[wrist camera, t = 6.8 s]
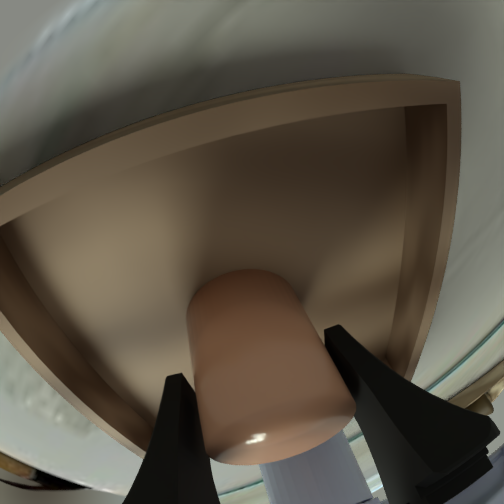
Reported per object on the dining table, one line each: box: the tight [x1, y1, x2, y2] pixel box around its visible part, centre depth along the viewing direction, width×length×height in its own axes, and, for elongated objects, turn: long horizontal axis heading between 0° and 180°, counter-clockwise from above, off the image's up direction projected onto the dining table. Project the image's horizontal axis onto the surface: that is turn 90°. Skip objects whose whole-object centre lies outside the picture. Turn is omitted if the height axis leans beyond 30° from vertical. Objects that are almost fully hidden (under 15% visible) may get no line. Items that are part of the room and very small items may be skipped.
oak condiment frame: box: [447, 360, 504, 409], centre depth 37 cm, size 17×27×2 cm, turn 102°
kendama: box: [465, 394, 494, 416], centre depth 35 cm, size 6×10×20 cm
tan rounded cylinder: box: [186, 269, 356, 465], centre depth 11 cm, size 5×5×6 cm
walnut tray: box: [0, 74, 461, 459], centre depth 13 cm, size 18×18×3 cm
